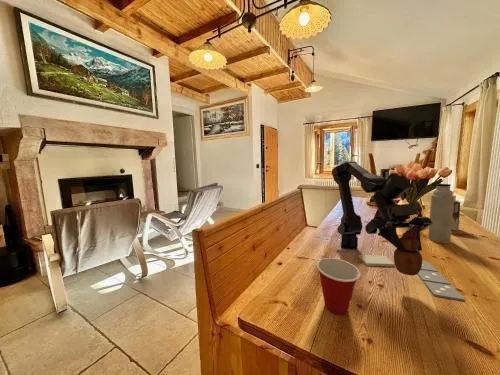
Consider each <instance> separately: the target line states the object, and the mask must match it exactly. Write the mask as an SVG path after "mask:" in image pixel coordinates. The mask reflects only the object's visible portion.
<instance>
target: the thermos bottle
mask: <svg viewBox="0 0 500 375" xmlns="http://www.w3.org/2000/svg"><path fill="white" fill-rule="evenodd" d="M451 186H452V185H451V184H450V183H437V184H436V188H435V189H434V190H433V194H431V196H430V207H429V211H430V212H429V218H430V220H431V221H432V223H433V224H431V225H430V226H428V237H427V238H428V240H429V241H432V242H437V243H443V244H448V243H450V242H451V237H452V236H451V235H452V230H451V226H452V215H453V204H454V201H455V196H454V195H453V191H452V190H451Z"/></svg>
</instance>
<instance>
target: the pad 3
mask: <svg viewBox="0 0 500 375" xmlns="http://www.w3.org/2000/svg"><path fill="white" fill-rule="evenodd" d="M423 284H424V285H425V286H426V288H427V289H428V290H429V291H430V293H431V294H432V295H433V297H440V298H445V299H450V300H451V299H452V300H457V301H463V302H465V301H466V299H465V297H464V296H463V295H462V294H461V293H459V291H457V288H455V287H454V286H453V285H451V284H450V285H446V284H439V283H433V282H426V281H423Z"/></svg>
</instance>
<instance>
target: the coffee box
mask: <svg viewBox="0 0 500 375" xmlns="http://www.w3.org/2000/svg"><path fill="white" fill-rule="evenodd" d="M460 209H461V202H460V201H457V200H454V204H453V215H452V226H451V231H456V232H457V231H459V228H460V227H459V225H460V214H461V212H460V211H461V210H460Z"/></svg>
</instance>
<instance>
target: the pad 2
mask: <svg viewBox="0 0 500 375" xmlns="http://www.w3.org/2000/svg"><path fill="white" fill-rule="evenodd" d="M417 276H418V277H419V278H420V280H421V281H422V282H424V281H426V282H433V283H439V284H446V285H451V282H449V281H448V280H447V279H446V277H444V275H442V274H441V273H440V272H439V271H438V272H432V271H425V270H420V271H419V273H418V274H417Z"/></svg>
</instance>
